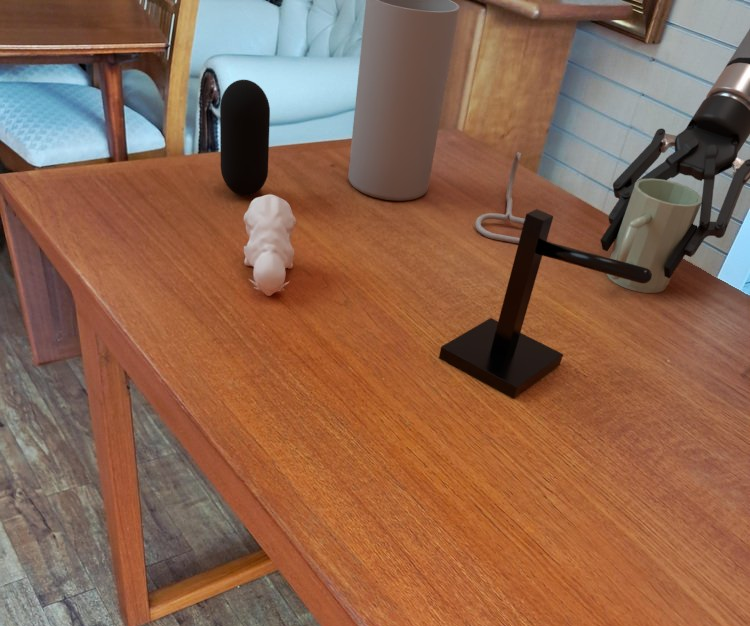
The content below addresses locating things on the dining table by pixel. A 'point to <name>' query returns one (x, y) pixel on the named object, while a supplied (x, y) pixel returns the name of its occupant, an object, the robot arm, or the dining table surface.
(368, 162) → the cylinder vase
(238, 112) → the decorative object
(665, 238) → the mug
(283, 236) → the white animal figurine
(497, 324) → the mug stand
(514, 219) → the hook
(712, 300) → the dining table surface
